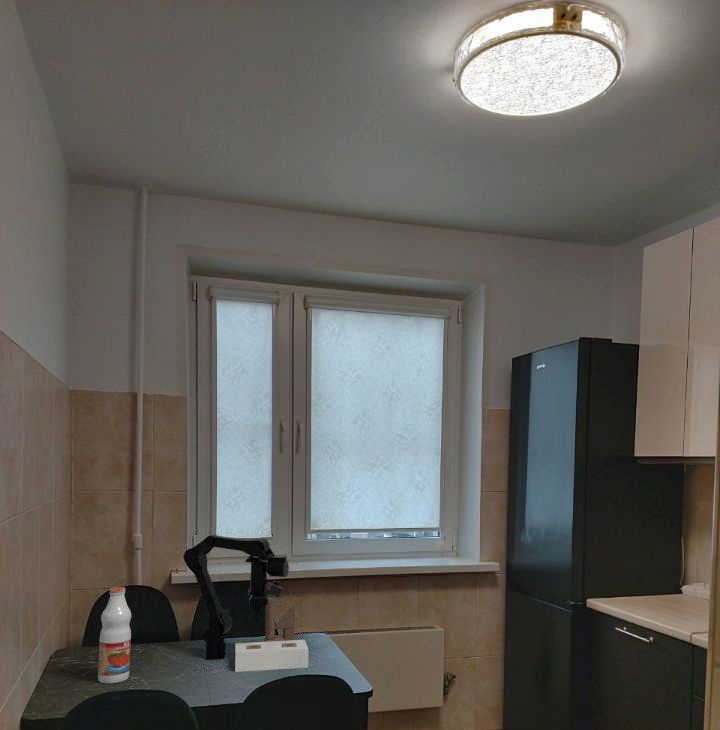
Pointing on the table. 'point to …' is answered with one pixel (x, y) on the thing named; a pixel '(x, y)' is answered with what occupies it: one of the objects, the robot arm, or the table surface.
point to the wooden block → (284, 623)
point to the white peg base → (271, 656)
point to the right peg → (289, 645)
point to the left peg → (253, 647)
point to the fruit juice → (115, 639)
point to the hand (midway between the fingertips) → (257, 621)
